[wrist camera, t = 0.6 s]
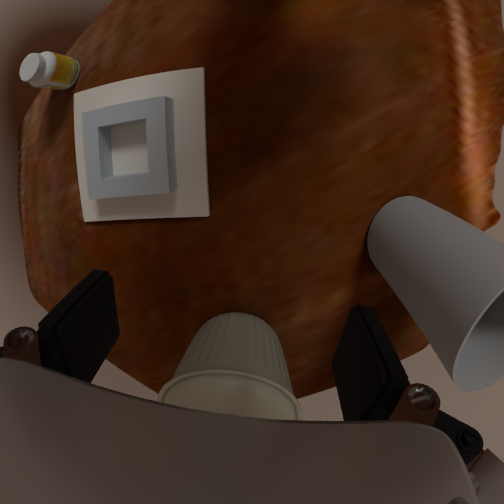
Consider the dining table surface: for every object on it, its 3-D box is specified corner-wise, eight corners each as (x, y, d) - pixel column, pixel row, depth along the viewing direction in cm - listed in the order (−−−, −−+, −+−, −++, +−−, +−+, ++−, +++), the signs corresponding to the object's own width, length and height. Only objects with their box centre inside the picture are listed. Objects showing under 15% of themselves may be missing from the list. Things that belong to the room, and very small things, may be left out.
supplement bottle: (60, 96, 33) (19, 94, 24) (52, 72, 31) (13, 66, 22) (84, 76, 32) (45, 68, 23) (76, 51, 30) (38, 40, 21)
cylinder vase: (434, 188, 36) (562, 252, 13) (437, 263, 41) (530, 360, 17) (360, 204, 38) (467, 296, 15) (369, 282, 42) (440, 409, 19)
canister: (174, 357, 50) (140, 453, 30) (202, 275, 43) (160, 380, 23) (267, 386, 51) (265, 484, 32) (312, 315, 45) (336, 426, 25)
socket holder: (76, 94, 33) (60, 92, 29) (204, 68, 32) (197, 60, 28) (87, 220, 40) (72, 229, 36) (209, 214, 39) (203, 224, 35)
